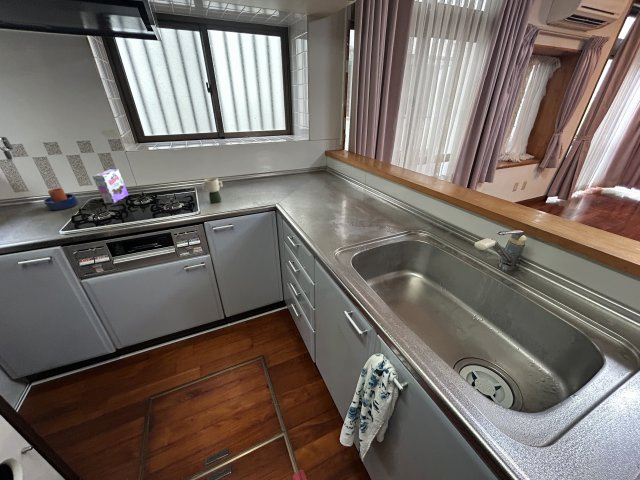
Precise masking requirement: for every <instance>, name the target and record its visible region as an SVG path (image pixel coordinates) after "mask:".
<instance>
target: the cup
mask: <svg viewBox="0 0 640 480" xmlns="http://www.w3.org/2000/svg"><path fill="white" fill-rule="evenodd" d="M47 193H48V195H49V196H50V197H51V198H52V200H53V202H56V201H62V200H66V199H68V198H67V196H66V194H67V193H66V192H65V191H64V189H63V187H56V188H52V189H49V190H47Z"/></svg>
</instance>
